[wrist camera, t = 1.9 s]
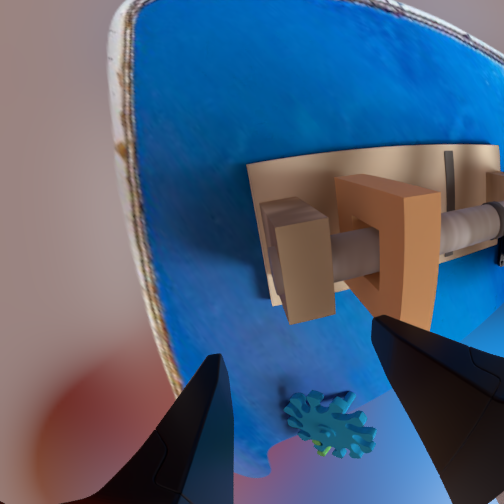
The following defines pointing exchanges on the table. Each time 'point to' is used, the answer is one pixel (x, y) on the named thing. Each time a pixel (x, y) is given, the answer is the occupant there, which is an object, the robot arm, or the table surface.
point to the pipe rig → (367, 239)
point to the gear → (331, 424)
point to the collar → (395, 244)
